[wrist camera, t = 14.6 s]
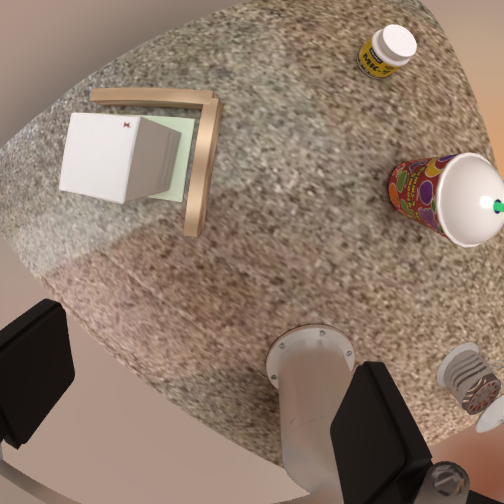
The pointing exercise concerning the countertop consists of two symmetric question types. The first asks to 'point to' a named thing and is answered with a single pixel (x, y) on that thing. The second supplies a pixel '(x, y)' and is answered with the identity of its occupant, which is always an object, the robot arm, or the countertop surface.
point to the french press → (465, 375)
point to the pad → (182, 155)
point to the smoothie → (451, 196)
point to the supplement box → (118, 157)
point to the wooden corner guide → (203, 145)
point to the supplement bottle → (386, 51)
